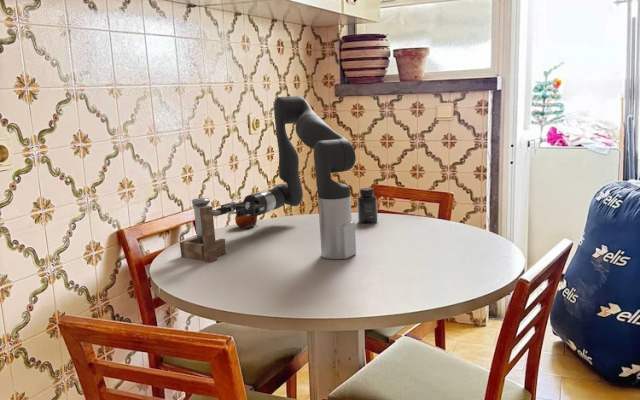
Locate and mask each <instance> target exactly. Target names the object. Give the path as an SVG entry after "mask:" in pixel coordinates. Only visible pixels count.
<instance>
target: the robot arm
mask: <svg viewBox="0 0 640 400" xmlns="http://www.w3.org/2000/svg"><path fill="white" fill-rule="evenodd" d="M273 114H274V124H275V132H276V140H277V141H276V143H277V148H278V149H277V150H278V176H279V178H280V180H281V181H283V182H284V183H279V184H276V185H275V186H274V187H273V188H271V189H269V190H266V191H264V190H263V191H258V192H256V193H251V194H248V195H246V196H245V197H244V198H243V200H242V201H239V202H235V201H232V202H228V203H225V204H224V203H223V204H221V205H220V207H219V208H216V209H215V210H219V211H221V215H218V216H217V217H219V216H222V215H227V214H231V215H235V216H236V217H238V218H239V217H242V216H251V217H256V216H257V217H258V216H261V215H265V214H267V213H269V212H271V211H274V210H277V209H279V208H281V207H283V205H287V206H290V207H298V206H299V205H300V204H301V203H302V201H303V198H304V190H303V185H302V183H301V180H300V179H301V178H300V175H299V173H300V172H299V169H300V168H299V167H300V166H299V161H300V159H299V158H300V157H299V155H298V152H297V149H296V148H295V146H294V145H293V144H292V142H291V140H290V138H289V136H288V134H287V131H286V130H287V129H286V125H289V124H291V125H292V124H295V132H296V135H297V137H298V138H299V139H300V140H301V142H302V143H303V145H305V146H306V147H308V148H310V149H312V150H313V161H314V164H313V165H314V171H315V182H316V190H317V200H318V201H317V202H318V217H319V218H318V220H319V221H318V222H319V237H320V252H321V257H322V258H324V259H328V260H347V259H349V258H350V257H352V256H354V255H356V254H357V247H356V246H357V245H356V240H357V239H356V223H355V221H352V220H353V219H352V201H351V199H352V198H351V188H350V186H349V185H347V184H345V183H341V182H338V181H335V180H333V179H332V175H331V174H336V173H343V172H347V171H350V170H352V168H354V166H355V164H356V160H357V158H356V157H357V156H356V151H355V148H354V147H353V145H352V143H351V142H350V141H349V140H348V139H347V138H346V137H344V136H343V135H341V134H339V133H338V132H336V131H335V130H334V129H333V128H331V127H330V126H329V125H328V124H327V123H326V122H325V120H324V119H323V118H321V117H320V116H319V115H318V114H317V113H316V112H315V111H314V110H313V109H312V107H311V106H310V104H309V103H308V101H307V100H306V98H305V97H303V96H299V95H297V96H296V95H291V96H290V95H289V96H278V97H277V98H276V99H275V101H274V105H273Z"/></svg>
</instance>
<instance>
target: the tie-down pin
mask: <svg viewBox="0 0 640 400" xmlns="http://www.w3.org/2000/svg"><path fill="white" fill-rule="evenodd" d="M210 202H211V201H210V198H209V197H199V198H194V199H192V200H191V204H192V205H193V211H194V222H195V231H196V237H197V243H200V244H203V236H202V226H201V216H200V207H204V206H209V205H210V204H209V203H210Z"/></svg>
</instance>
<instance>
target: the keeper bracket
mask: <svg viewBox="0 0 640 400" xmlns="http://www.w3.org/2000/svg"><path fill="white" fill-rule="evenodd" d="M218 215H219V216H222V215H221V211H219V210H216V209H213V206H204V207H200V216H201V226H202V236H203V244H200V243H197V236H195V237H192V238H190V239H187V240H184V241H179V248H180V257H181V258H185V259H186V258H187V259H192V260H199V261H204V262H206V261H207V262H208V263H213V262H216V261H218V257H220V256H222V255H226V254H227V248H226V238H219V239H216V232H215V223H214V222H215V221H214V217H219V216H218Z"/></svg>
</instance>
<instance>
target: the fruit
mask: <svg viewBox="0 0 640 400" xmlns="http://www.w3.org/2000/svg"><path fill="white" fill-rule="evenodd" d="M234 219H235V221H234V222H235V224H236V225H237V226H238V228H240V229H245V228H246V229H249V228H250V227H258V225H257V221H258V216H256V217H251V216H242V217H239V218H238V217H236V215H235V218H234Z"/></svg>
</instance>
